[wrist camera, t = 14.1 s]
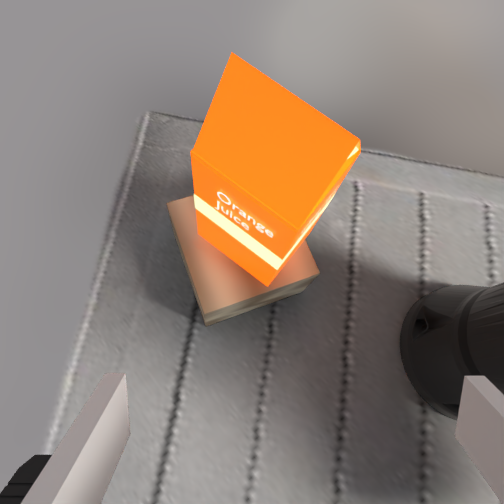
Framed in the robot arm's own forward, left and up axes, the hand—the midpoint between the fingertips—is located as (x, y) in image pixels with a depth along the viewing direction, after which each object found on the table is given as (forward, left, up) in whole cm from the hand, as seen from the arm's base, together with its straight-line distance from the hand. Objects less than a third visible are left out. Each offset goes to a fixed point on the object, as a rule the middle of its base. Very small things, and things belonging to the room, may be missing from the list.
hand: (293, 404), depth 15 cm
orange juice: (-6, -14, -21) cm, 26 cm away
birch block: (-5, -14, -29) cm, 32 cm away
